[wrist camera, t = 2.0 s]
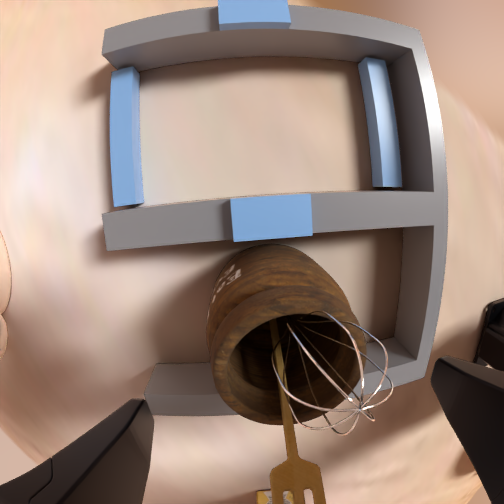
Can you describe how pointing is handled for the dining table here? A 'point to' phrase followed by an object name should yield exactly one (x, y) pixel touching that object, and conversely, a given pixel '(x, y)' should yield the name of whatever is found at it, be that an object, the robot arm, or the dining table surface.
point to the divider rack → (294, 204)
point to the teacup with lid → (4, 293)
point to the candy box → (266, 497)
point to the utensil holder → (286, 352)
